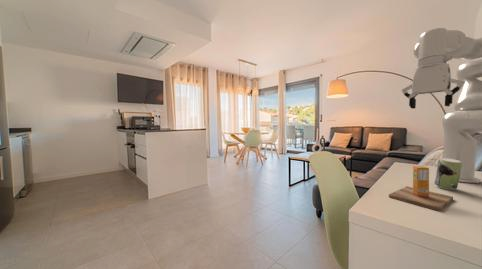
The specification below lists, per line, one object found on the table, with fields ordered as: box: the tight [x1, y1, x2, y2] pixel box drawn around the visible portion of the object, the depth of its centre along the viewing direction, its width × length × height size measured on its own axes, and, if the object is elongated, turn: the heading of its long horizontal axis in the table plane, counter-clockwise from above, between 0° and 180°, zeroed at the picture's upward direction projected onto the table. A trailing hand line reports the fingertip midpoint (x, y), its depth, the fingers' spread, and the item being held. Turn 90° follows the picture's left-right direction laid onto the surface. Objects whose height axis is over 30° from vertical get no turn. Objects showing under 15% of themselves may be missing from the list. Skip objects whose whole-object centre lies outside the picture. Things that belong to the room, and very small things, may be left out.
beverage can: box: [434, 157, 462, 191], centre depth 71 cm, size 6×7×12 cm
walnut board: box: [388, 186, 454, 212], centre depth 62 cm, size 16×12×1 cm
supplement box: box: [412, 165, 430, 197], centre depth 62 cm, size 3×4×10 cm
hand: (429, 107), depth 71 cm, fingers open, 9 cm apart
